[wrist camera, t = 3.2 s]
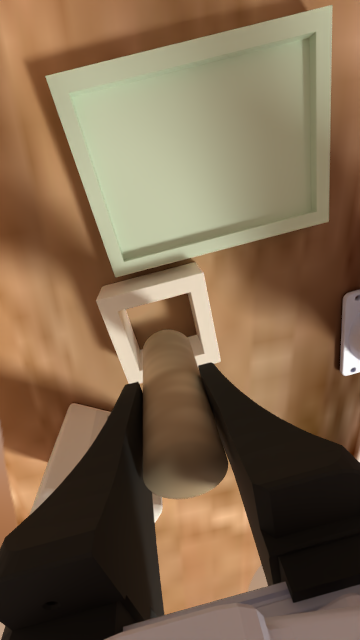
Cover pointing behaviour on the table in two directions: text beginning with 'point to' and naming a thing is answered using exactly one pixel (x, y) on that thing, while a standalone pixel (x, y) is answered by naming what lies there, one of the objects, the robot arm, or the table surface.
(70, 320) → the table surface
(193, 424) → the dowel
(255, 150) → the tray
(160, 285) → the square block with hole
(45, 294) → the table surface
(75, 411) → the container
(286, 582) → the robot arm
